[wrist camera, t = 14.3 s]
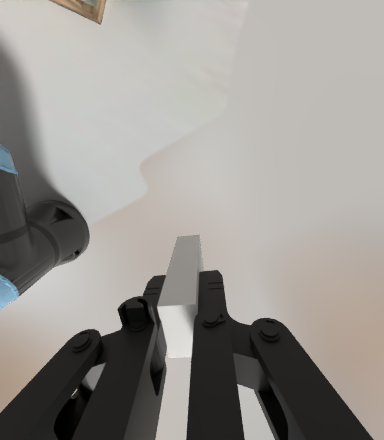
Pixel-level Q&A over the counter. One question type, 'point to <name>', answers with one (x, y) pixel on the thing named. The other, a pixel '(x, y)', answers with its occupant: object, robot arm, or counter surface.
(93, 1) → the lid
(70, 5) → the chest
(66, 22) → the counter surface
